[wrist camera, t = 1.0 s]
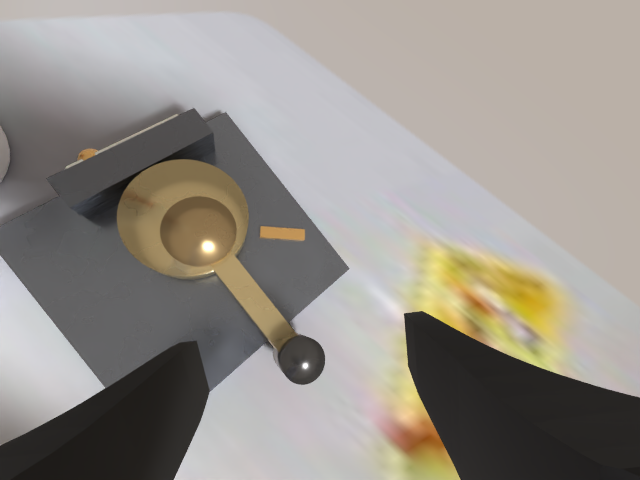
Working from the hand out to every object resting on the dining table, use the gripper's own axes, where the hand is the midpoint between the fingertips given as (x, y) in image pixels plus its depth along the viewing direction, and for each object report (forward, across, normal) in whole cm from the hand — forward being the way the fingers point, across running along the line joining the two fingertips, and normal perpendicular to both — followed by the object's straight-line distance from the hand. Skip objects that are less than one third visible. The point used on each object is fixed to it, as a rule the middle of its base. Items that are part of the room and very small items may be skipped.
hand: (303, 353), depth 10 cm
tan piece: (+9, +5, 0) cm, 11 cm away
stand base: (+11, +8, -1) cm, 13 cm away
